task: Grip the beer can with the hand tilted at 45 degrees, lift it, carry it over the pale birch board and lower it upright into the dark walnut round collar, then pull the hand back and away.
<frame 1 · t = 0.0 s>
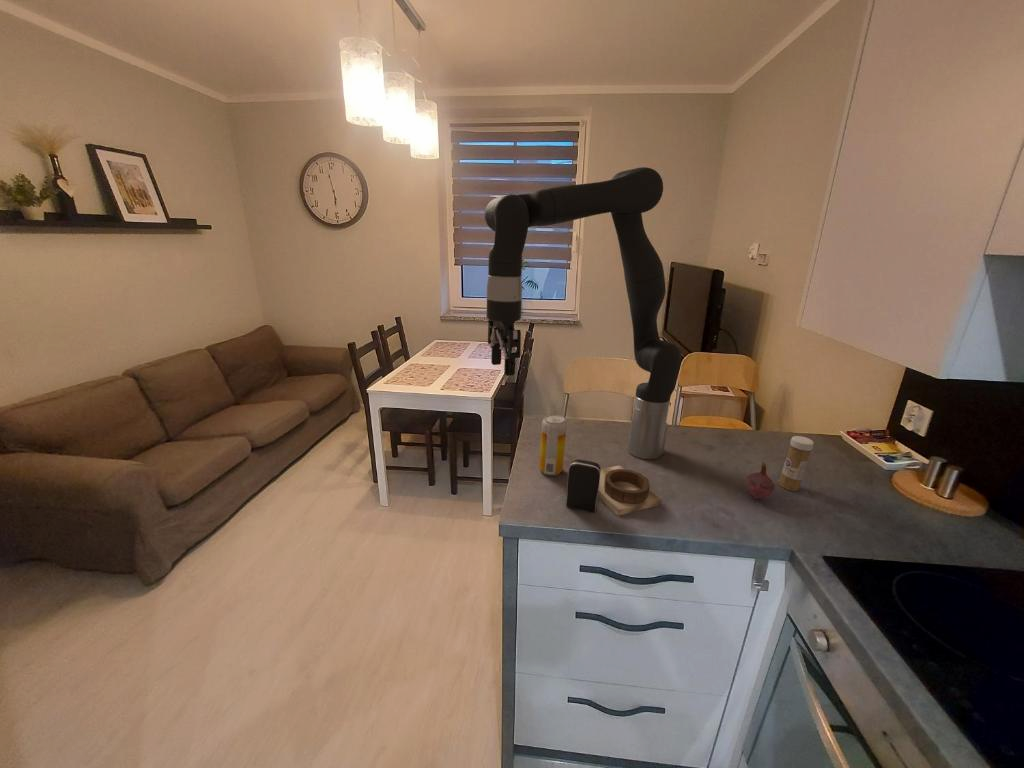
hand: (502, 369, 93), 29 cm above the worktop, tool pointing down, fingers open, 8 cm apart
battery charger: (581, 506, 94), on the worktop
sprinkles bottle: (788, 487, 104), on the worktop
vegetable: (756, 499, 99), on the worktop
collar board: (618, 490, 100), on the worktop
beer can: (550, 471, 108), on the worktop
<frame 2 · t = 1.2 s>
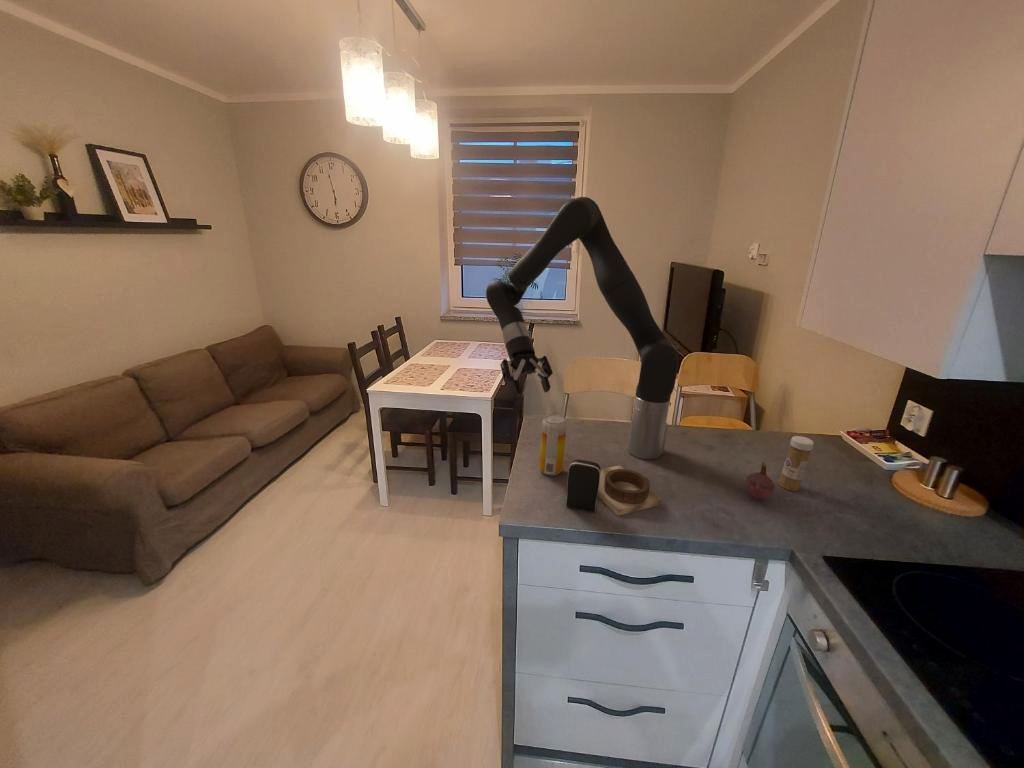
hand: (533, 392, 111), 18 cm above the worktop, tool tilted 45°, fingers open, 8 cm apart
nothing on the worktop moved.
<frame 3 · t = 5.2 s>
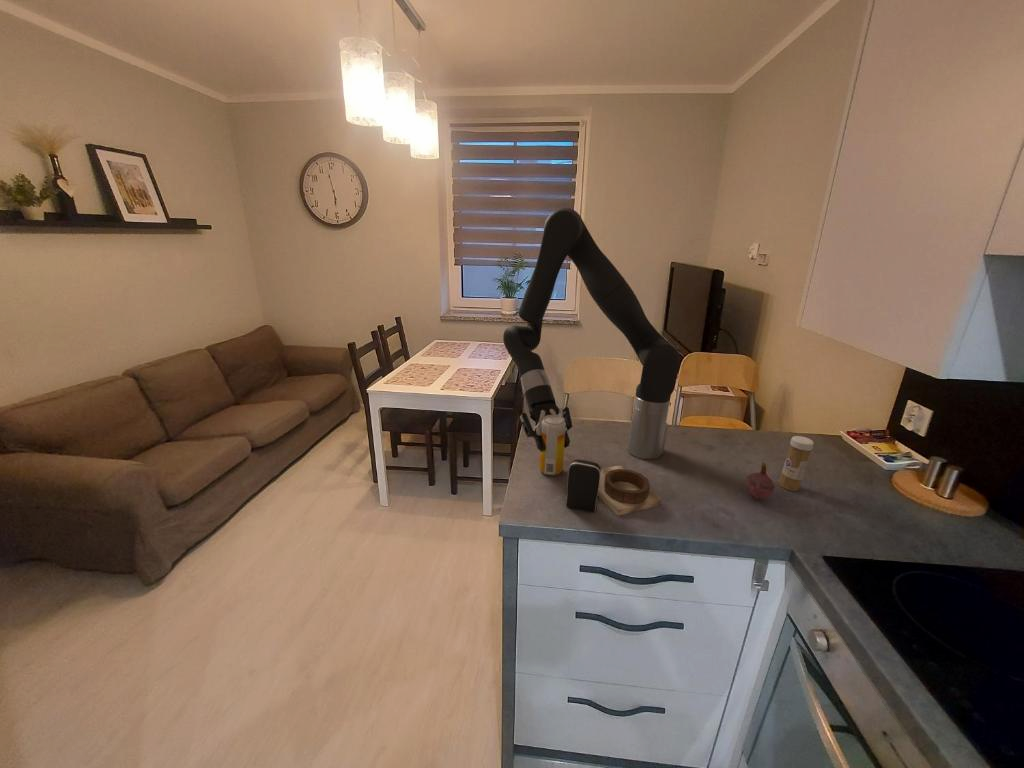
hand: (555, 448, 104), 7 cm above the worktop, tool tilted 45°, fingers closed on beer can, 6 cm apart
beer can: (550, 470, 108), on the worktop, touching gripper
everything else where it was.
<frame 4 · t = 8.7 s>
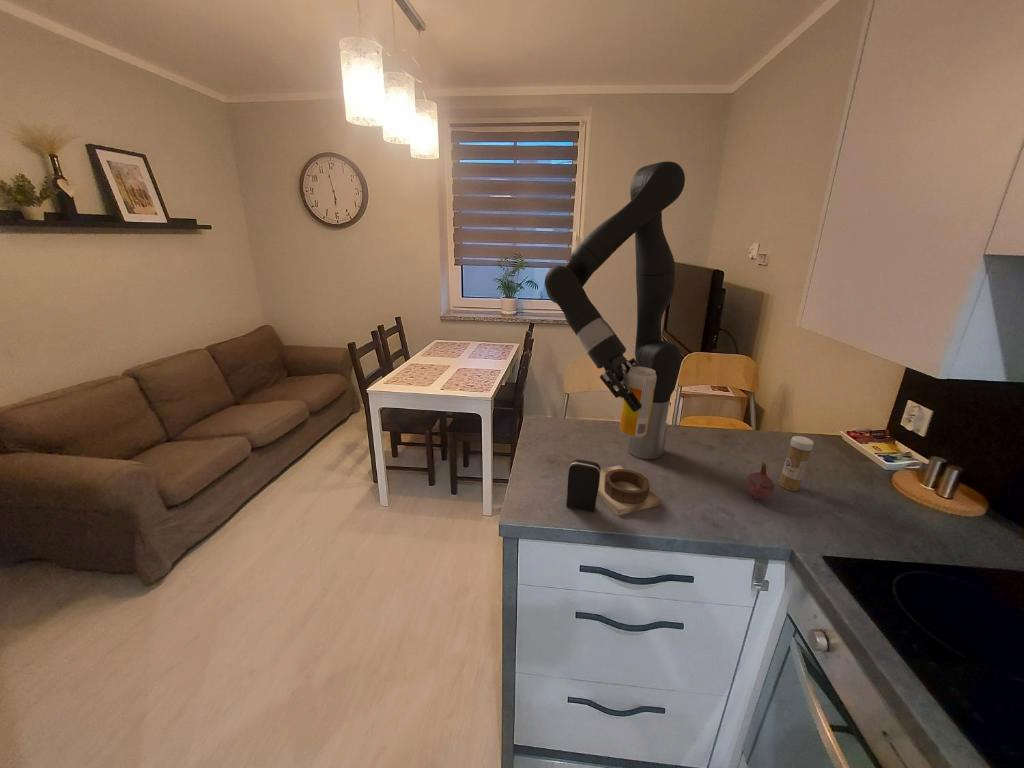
hand: (644, 405, 89), 24 cm above the worktop, tool tilted 45°, fingers closed on beer can, 6 cm apart
beer can: (632, 433, 93), point 17 cm above the worktop, touching gripper
everything else where it was.
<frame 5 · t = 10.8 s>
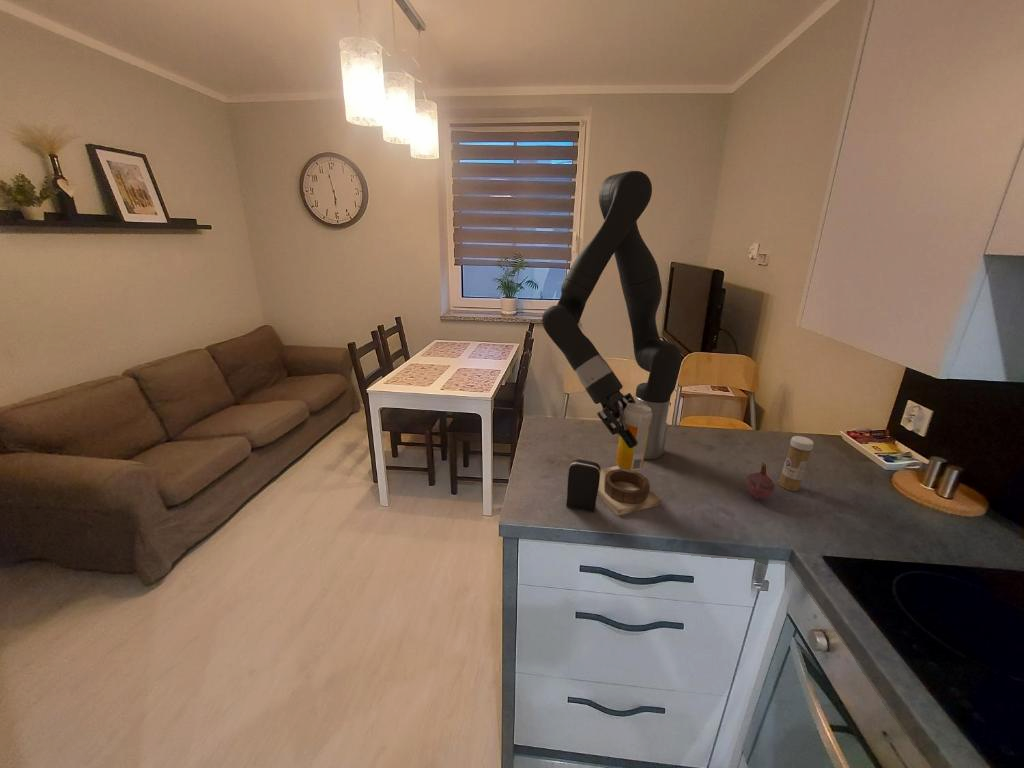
hand: (639, 440, 92), 15 cm above the worktop, tool tilted 45°, fingers closed on beer can, 6 cm apart
beer can: (628, 467, 95), point 8 cm above the worktop, touching gripper
everything else where it was.
when the fingers open (11 cm above the worktop, at t = 12.6 s): beer can drops 2 cm, resting on collar board.
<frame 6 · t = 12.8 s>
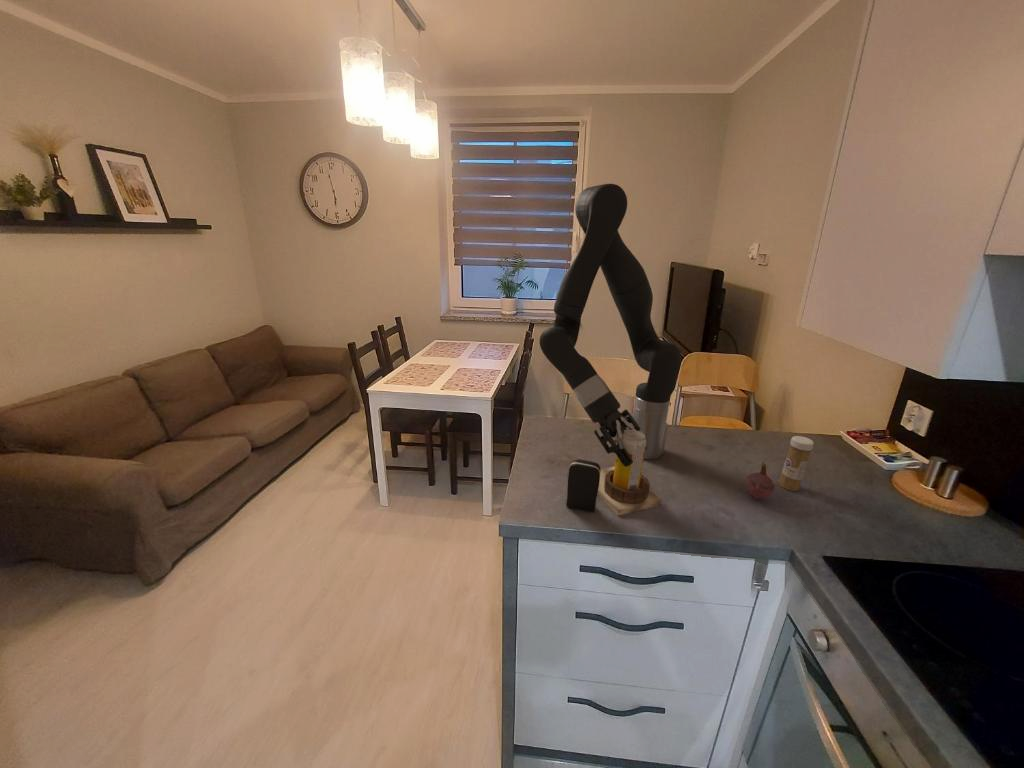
hand: (636, 457, 93), 11 cm above the worktop, tool tilted 45°, fingers open, 8 cm apart
beer can: (624, 492, 97), point 1 cm above the worktop, touching collar board
everything else where it was.
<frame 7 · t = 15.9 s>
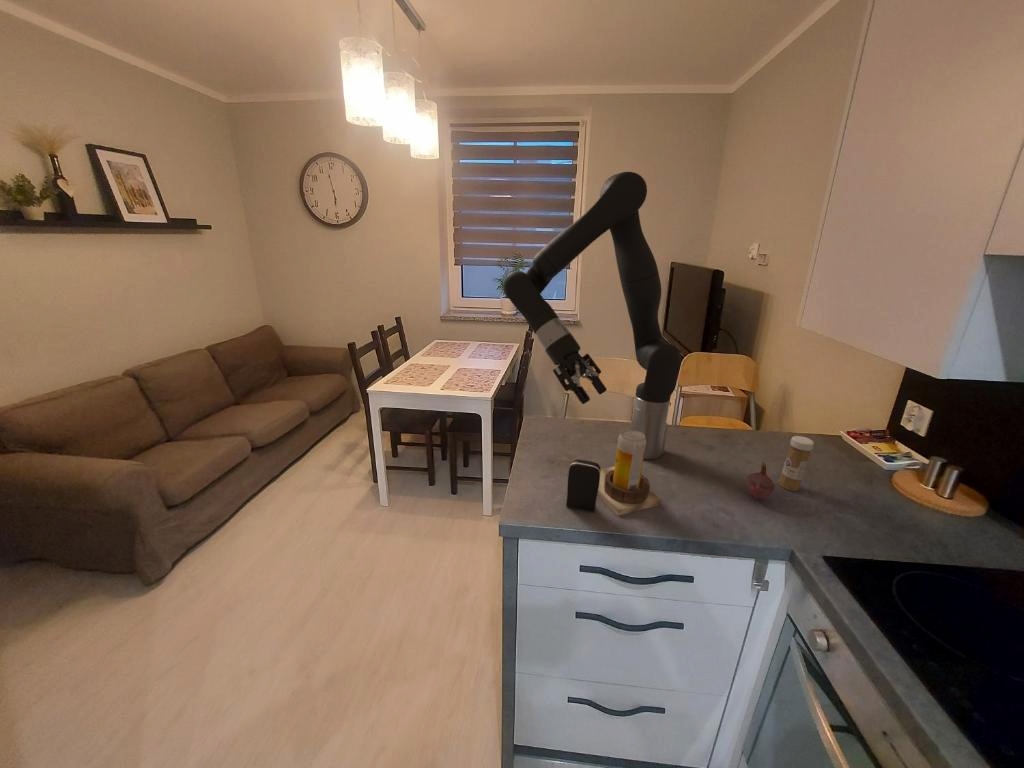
hand: (595, 397, 96), 23 cm above the worktop, tool tilted 45°, fingers open, 8 cm apart
nothing on the worktop moved.
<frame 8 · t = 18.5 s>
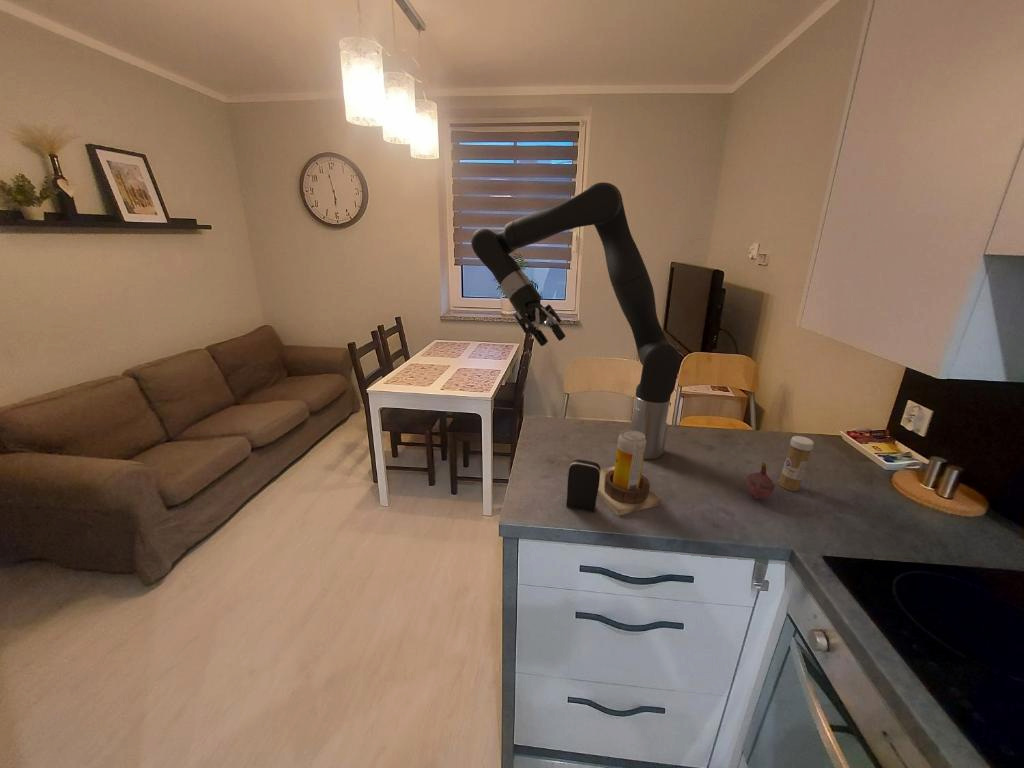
hand: (554, 341, 106), 33 cm above the worktop, tool tilted 45°, fingers open, 8 cm apart
nothing on the worktop moved.
at the end: beer can 0.3 cm from the target spot, point 1.3 cm above the worktop; beer can tilted 0°; the gripper is holding nothing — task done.
